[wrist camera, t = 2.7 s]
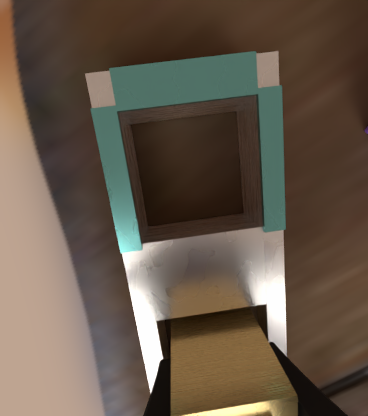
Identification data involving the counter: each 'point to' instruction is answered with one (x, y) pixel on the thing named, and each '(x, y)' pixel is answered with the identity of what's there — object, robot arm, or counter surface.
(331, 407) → the robot arm
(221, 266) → the white compartment tray
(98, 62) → the counter surface
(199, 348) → the beige hollow block
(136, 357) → the counter surface
